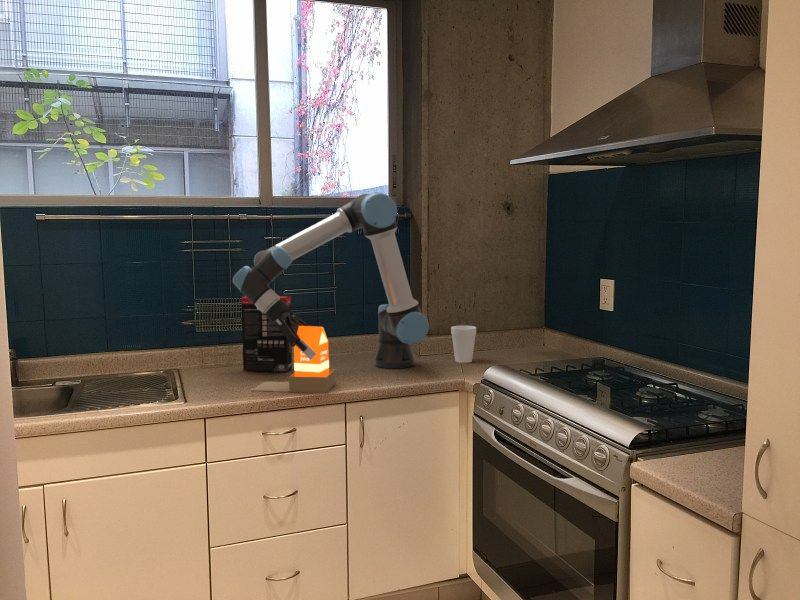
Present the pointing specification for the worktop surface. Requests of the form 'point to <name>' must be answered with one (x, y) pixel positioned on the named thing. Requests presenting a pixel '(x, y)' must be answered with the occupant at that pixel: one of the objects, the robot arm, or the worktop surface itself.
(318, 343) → the orange juice
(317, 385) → the kraft mailer box
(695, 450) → the worktop surface
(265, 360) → the graphics card box
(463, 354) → the foam cup
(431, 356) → the worktop surface
